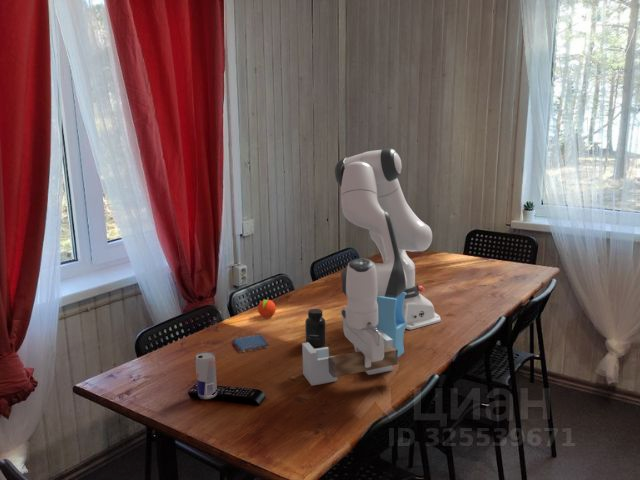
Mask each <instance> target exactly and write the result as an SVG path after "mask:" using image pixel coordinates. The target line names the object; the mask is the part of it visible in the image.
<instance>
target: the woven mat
mask: <svg viewBox="0 0 640 480" xmlns="http://www.w3.org/2000/svg"><path fill="white" fill-rule="evenodd" d="M231 342H232V345H233V346H234V347H235V348H236V350H237V352H238V353H239V354H242V353H248V352H252V351H253V352H254V351H258V350H264V348H265V349H268V347H269V346H270V345H269V344H268V342H267V340H266V339H265V338H264V337H263V335H262V334H260V333H259V334H255V335H249V336H243V337H237V338H233V339H232V341H231Z"/></svg>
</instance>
